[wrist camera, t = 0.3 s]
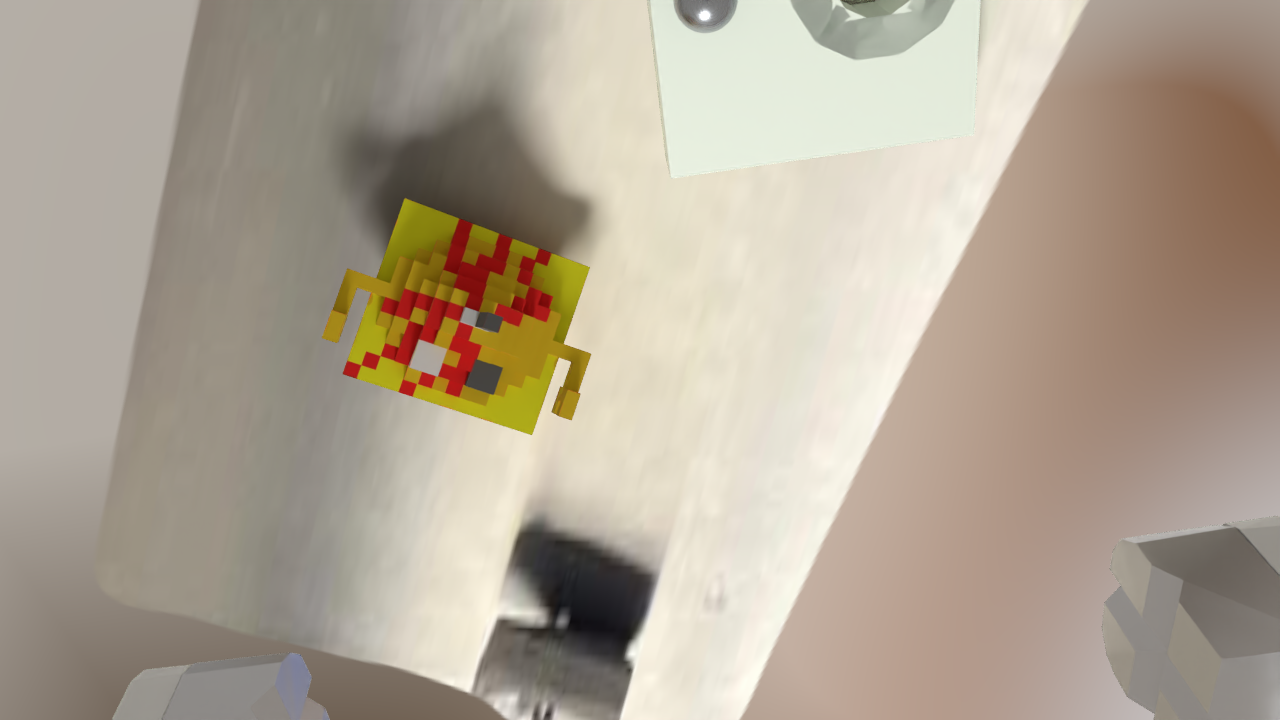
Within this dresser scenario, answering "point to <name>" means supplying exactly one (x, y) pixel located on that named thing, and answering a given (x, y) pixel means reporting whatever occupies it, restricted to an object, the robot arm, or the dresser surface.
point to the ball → (705, 14)
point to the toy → (465, 320)
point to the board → (813, 80)
